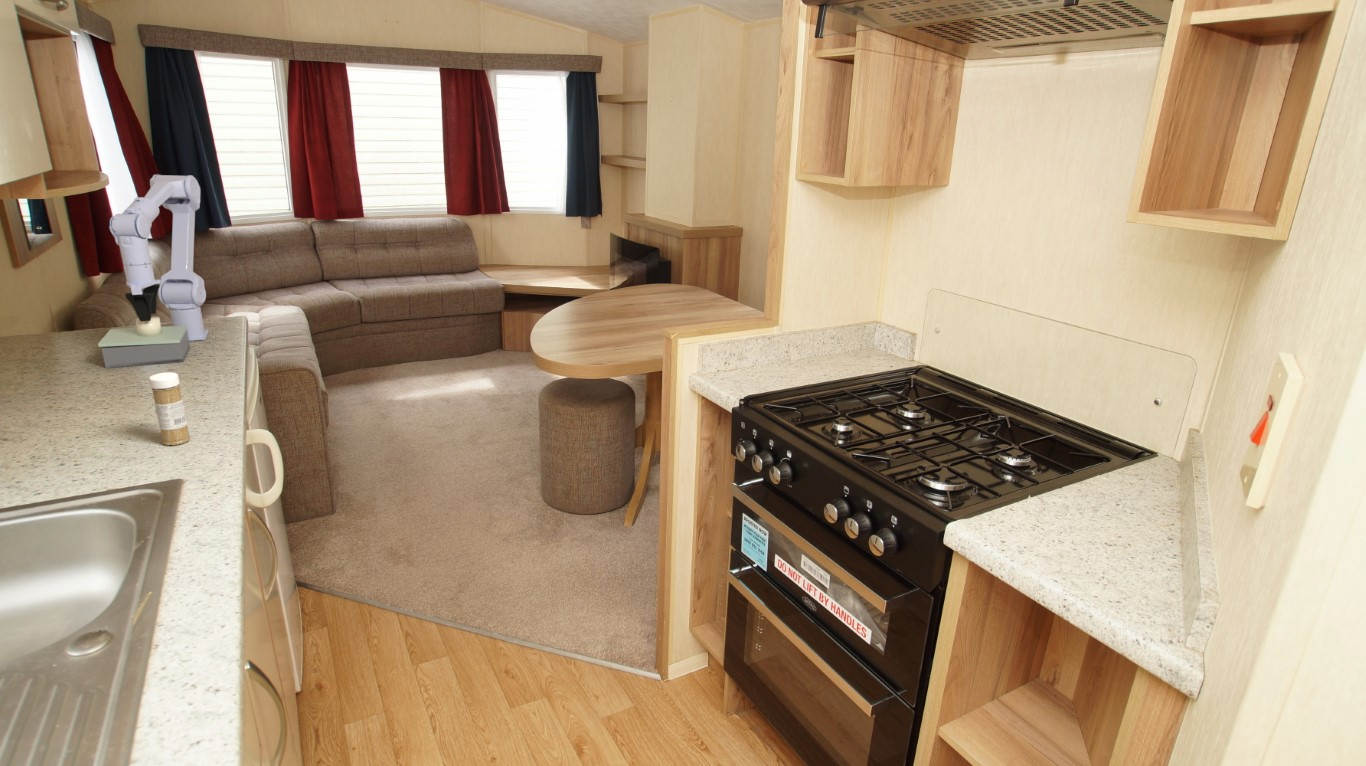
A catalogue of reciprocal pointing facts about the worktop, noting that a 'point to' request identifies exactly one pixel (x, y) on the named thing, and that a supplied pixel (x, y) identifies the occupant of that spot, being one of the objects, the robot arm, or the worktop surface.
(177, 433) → the sprinkles bottle
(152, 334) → the cream rounded cup
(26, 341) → the worktop surface
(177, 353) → the box
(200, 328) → the robot arm
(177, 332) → the lid
